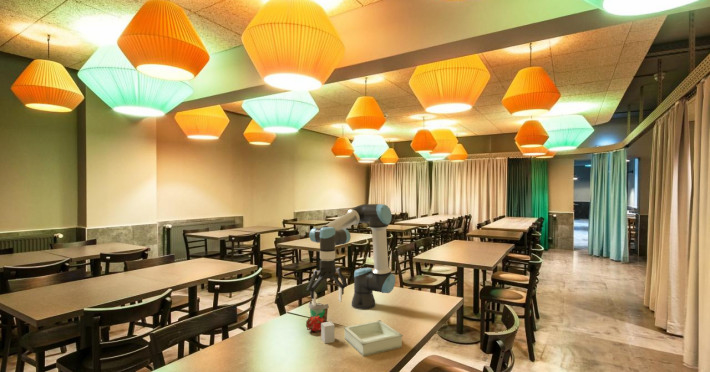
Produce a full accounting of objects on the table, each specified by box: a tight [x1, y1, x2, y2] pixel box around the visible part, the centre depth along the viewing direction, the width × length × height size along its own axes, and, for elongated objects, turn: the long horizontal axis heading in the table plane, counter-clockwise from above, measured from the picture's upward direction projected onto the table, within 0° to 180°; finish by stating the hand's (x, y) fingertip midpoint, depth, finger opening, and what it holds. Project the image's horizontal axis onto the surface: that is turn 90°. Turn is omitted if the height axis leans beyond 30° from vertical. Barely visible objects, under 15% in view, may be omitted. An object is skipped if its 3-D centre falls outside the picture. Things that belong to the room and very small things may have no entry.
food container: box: [308, 300, 329, 322], centre depth 190 cm, size 12×6×10 cm, turn 62°
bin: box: [343, 320, 404, 357], centre depth 163 cm, size 21×21×6 cm
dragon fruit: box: [305, 315, 326, 333], centre depth 178 cm, size 8×8×12 cm
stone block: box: [320, 320, 336, 344], centre depth 166 cm, size 5×5×8 cm
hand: (327, 303), depth 166 cm, fingers open, 13 cm apart
